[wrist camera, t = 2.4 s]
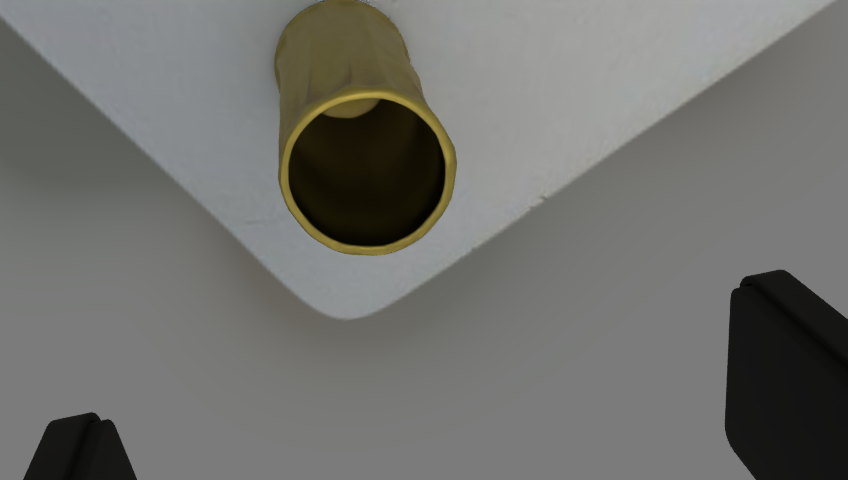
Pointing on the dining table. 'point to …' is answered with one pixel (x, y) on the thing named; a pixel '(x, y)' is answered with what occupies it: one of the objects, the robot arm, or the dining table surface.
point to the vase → (358, 132)
